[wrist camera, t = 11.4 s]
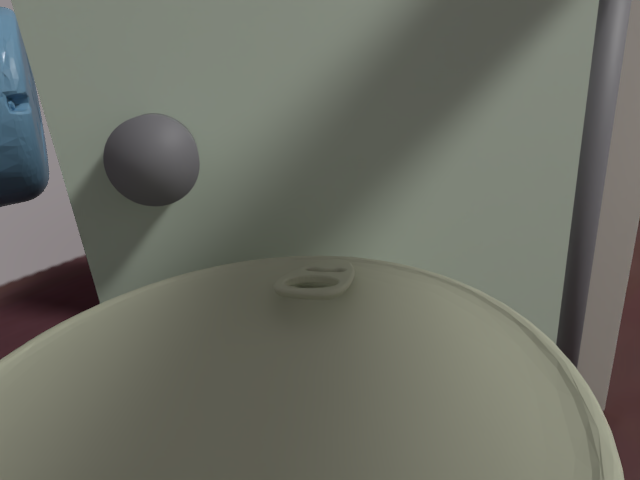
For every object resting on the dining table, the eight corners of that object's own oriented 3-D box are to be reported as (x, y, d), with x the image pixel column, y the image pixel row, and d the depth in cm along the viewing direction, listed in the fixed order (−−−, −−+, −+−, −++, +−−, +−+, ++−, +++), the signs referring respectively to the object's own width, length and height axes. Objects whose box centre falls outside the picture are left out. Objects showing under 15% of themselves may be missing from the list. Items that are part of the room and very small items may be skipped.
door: (179, 494, 18) (22, -92, 11) (525, 389, 22) (572, -85, 15) (176, 619, 14) (-86, -216, 7) (606, 460, 18) (725, -158, 11)
